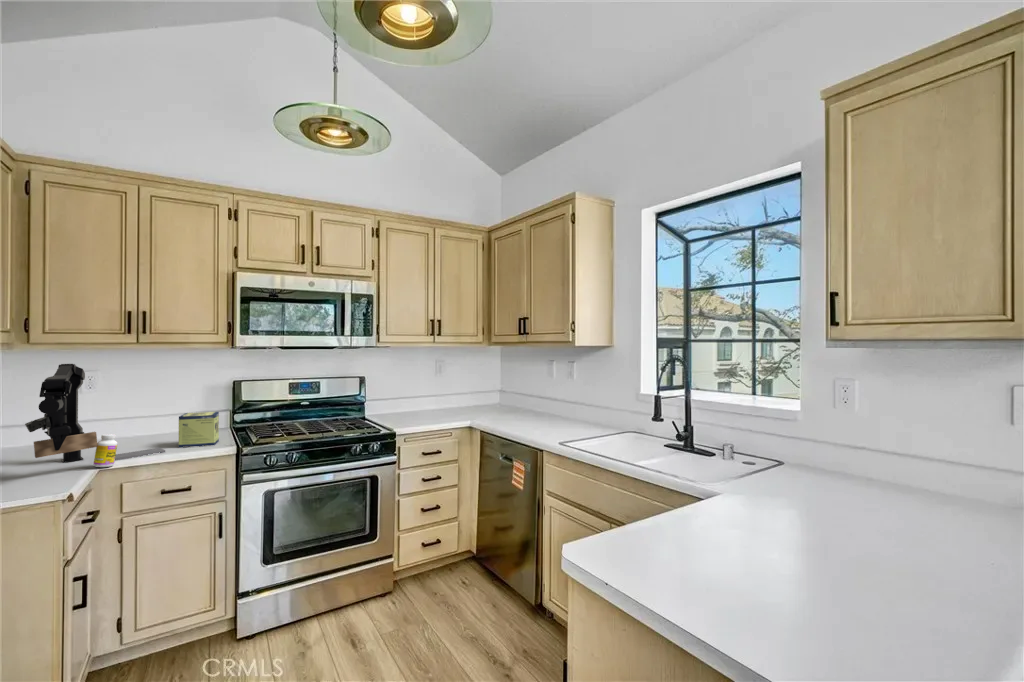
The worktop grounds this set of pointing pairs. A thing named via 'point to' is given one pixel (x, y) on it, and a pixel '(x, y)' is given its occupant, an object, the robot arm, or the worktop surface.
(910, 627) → the worktop surface
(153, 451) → the mat
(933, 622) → the worktop surface
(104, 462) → the supplement bottle
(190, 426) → the protein box
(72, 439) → the brown wooden plank
